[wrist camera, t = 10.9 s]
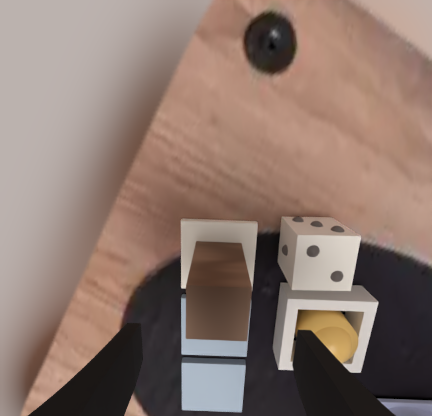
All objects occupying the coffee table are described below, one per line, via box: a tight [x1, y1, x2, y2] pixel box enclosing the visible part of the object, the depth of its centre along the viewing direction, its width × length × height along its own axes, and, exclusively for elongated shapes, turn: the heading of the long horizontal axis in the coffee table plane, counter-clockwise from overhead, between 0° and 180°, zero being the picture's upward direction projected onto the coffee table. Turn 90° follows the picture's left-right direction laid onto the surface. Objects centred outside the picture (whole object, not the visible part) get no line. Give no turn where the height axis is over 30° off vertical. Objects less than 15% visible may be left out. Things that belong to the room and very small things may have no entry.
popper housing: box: [273, 283, 379, 373], centre depth 20 cm, size 7×7×2 cm
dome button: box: [295, 309, 358, 363], centre depth 19 cm, size 4×4×4 cm
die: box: [278, 216, 361, 291], centre depth 17 cm, size 4×4×4 cm
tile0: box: [182, 357, 246, 412], centre depth 23 cm, size 6×6×1 cm
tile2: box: [181, 218, 258, 288], centre depth 19 cm, size 6×6×1 cm
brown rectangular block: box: [186, 241, 252, 341], centre depth 16 cm, size 4×4×6 cm
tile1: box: [181, 294, 251, 357], centre depth 21 cm, size 6×6×1 cm
